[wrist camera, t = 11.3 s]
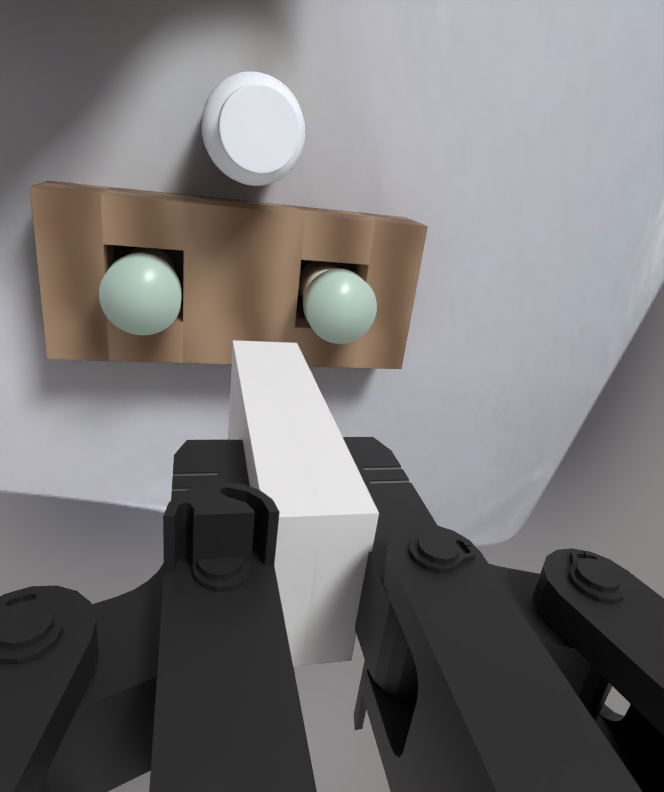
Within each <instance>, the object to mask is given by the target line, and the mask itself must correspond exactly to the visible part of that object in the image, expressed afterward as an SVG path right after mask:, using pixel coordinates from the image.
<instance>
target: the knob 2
mask: <svg viewBox="0 0 664 792" xmlns="http://www.w3.org/2000/svg"><path fill="white" fill-rule="evenodd" d="M298 290H299V293H300V295H301V297H302V298H303V310H304V314H305V317H306V319H307V320H308V322H309V324H310V326H311V327H312V329H313V330H314V332H315V333H316V334H317V335H318V336H319V337H320V338H322V339H324V340H325V341H328V342H331V343H336V344H344V343H349V342H352V341H355V340H357V339H358V338H360V337H361V336H363V335H364V334H365V333H366V332H367V331H368V330H369V328H370V327H371V325H372V324H373V322H374V319H375V316H376V312H377V302H376V297H375V294H374V292H373V290H372V289H371V287H370V286H369V285H368V284H367V283H366V282H365V281H364V280H363V279H362V278H360V277H359V276H358V275H357V274H355V273H354V272H352V271H350V270H346V269H339V268H338V267H337V266H336V265H335V264H333V263H332V262H326V261H313V262H311V263H309V264H308V265H306V266H305V267H304V268H303V270H302V271H301V273H300V278H299V288H298Z"/></svg>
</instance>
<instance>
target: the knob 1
mask: <svg viewBox="0 0 664 792" xmlns="http://www.w3.org/2000/svg"><path fill="white" fill-rule="evenodd" d="M181 295H182V291H181V284H180V281H179V278H178V276H177V274H176V273H175V266H174V263H173V261H172V260H171V258H170V257H169V256H168V255H167V254H166V253H165V252H164V251H162V250H161V249H159V248H146V247H138V248H135V249H134V250H132V251H131V252H130V253H129V254H128V255H126V256H123V257H121V258H120V259H118V260H117V261H115V262H114V263H113V264H112V265H111V266H110V268H109V269H108V271H107V272H106V274H105V275H104V277H103V279H102V281H101V284H100V288H99V300H100V304H101V307H102V310H103V312H104V313H105V315H106V317H107V318H108V319H109V320H110V321H111V322H112V323H113V324H114V325H115V326H116V327H118V328H120V329H121V330H123V331H125V332H128V333H131V334H135V335H152V334H156V333H158V332H161V331H163V330H165V329H166V328H167V327H169V326H170V325H171V324H172V323H173V322H174V320H175V319H176V317H177V315H178V313H179V310H180V306H181Z"/></svg>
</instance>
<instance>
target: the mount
mask: <svg viewBox="0 0 664 792" xmlns="http://www.w3.org/2000/svg"><path fill="white" fill-rule="evenodd" d="M30 195H31V205H32V215H33V225H34V235H35V244H36V254H37V264H38V274H39V284H40V294H41V304H42V314H43V323H44V333H45V343H46V353H47V359H62V360H98V361H133V362H169V363H204V364H232V346H233V340H235V341H261V342H286V343H297V344H298V346H299V348H300V350H301V352H302V354H303V357H304V359H305V361H306V363H307V365H308V366H311V367H347V368H382V369H402V363H403V358H404V352H405V347H406V341H407V336H408V331H409V325H410V320H411V314H412V309H413V303H414V298H415V293H416V287H417V282H418V276H419V271H420V265H421V260H422V255H423V249H424V244H425V238H426V233H427V227H428V226H426V225H423V224H421V223H418V222H416V221H413V220H411V219H408V218H406V217H396V216H386V215H377V214H367V213H357V212H347V211H338V210H328V209H318V208H308V207H298V206H289V205H279V204H269V203H259V202H249V201H240V200H230V199H220V198H210V197H200V196H191V195H181V194H171V193H161V192H152V191H142V190H132V189H122V188H112V187H103V186H93V185H83V184H73V183H63V182H54V181H46V182H43V183H40V184H37V185H34V186H31V187H30ZM113 245H120V246H133V247H146V248H159V249H172V250H184V287H183V304H181V306H180V310H179V313H178V315H177V317H176V319H175V320H174V322H173V323H172V324H171V325H170V326H169V327H167V328H166V329H165V330H163V331H161V332H158V333H156V334H152V335H135V334H131V333H128V332H125V331H123V330H121V329H120V328H118V327H116V326H115V325H114V324H113V323H112V322H111V321H110V320H109V319H108V318H107V317H106V315H105V313H104V312H103V310H102V307H101V304H100V300H99V288H100V284H101V281H102V279H103V277H104V275H105V274H106V272H107V271H108V269H109V268H110V266H111V265H112V264H113V263H114V249H113ZM301 260H313V261H326V262H339V263H351V269H350V271H352V272H354V273H355V274H357V275H358V276H359V277H360V278H362V279H363V280H364V281H365V282H366V283H367V284H368V285H369V286H370V287H371V289H372V290H373V292H374V294H375V297H376V302H377V312H376V316H375V319H374V322H373V324H372V325H371V327H370V328H369V330H368V331H367V332H366V333H365V334H364V335H363V336H361V337H360V338H358V339H357V340H355V341H352V342H349V343H344V344H336V343H331V342H328V341H325V340H324V339H322V338H320V337H319V336H318V335H317V334H316V333H315V332H314V330H313V329H312V327H311V326H310V324H309V322H308V320H307V319H306V317H305V314H304V311H300V310H296V309H297V299H298V288H299V278H300V267H301Z"/></svg>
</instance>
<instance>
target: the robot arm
mask: <svg viewBox="0 0 664 792" xmlns="http://www.w3.org/2000/svg"><path fill="white" fill-rule="evenodd" d="M163 523H164V524H163V525H164V526H163V527H164V528H163V530H164V531H163V532H164V563H163V565H162V566H161V568H160V569H159V571H158V572H157V573H156V574H155V575H154V576H153V577H152V578H151V579H150V580H148V581H147V582H145V583H144V584H142V585H141V586H139V587H138V588H136V589H134V590H132V591H130V592H127V593H125V594H122V595H120V596H117V597H114V598H111V599H108V600H105V601H102V602H98V603H95V604H91V602H90V601H88V600H87V599H86V598H85V597H84V596H82V595H81V594H80V593H79V592H78V591H75V590H71V589H67V588H64V587H60V586H32V587H28V588H24V589H21V590H17V591H14V592H10V593H7V594H4V595H2V596H0V792H108V791H110V790H112V789H114V788H116V787H118V786H119V785H122V784H124V783H126V782H128V781H130V780H132V779H134V778H136V777H138V776H140V775H142V774H144V773H146V772H148V771H150V770H151V775H150V790H149V792H317V791H316V786H315V780H314V775H313V770H312V764H311V759H310V754H309V748H308V743H307V738H306V732H305V727H304V722H303V716H302V712H301V706H300V700H299V695H298V690H297V684H296V679H295V673H294V668H293V667H297V666H306V665H314V664H323V663H333V662H342V661H350V660H351V659H352V654H353V649H354V643H355V638H356V634H357V637H358V640H359V643H360V646H361V649H362V652H363V655H364V658H365V662H364V667H363V671H362V676H361V681H360V686H359V691H358V696H357V702H356V706H355V711H354V723H355V724H354V726H355V730H358V729H362V727H363V722H364V718H365V712H366V709H367V713H368V716H369V719H370V723H371V726H372V730H373V733H374V736H375V740H376V743H377V747H378V750H379V753H380V757H381V760H382V763H383V767H384V770H385V774H386V777H387V781H388V784H389V787H390V791H391V792H664V598H662V597H661V596H660V595H658V594H657V593H656V592H655V591H653V590H652V589H651V588H649V587H648V586H647V585H645V584H644V583H643V582H641V581H640V580H639V579H638V578H636V577H635V576H634V575H632V574H631V573H630V572H629V571H627V570H626V569H624V568H622V567H621V566H619V565H618V564H616V563H614V562H613V561H611V560H609V559H607V558H605V557H602V556H600V555H597V554H595V553H592V552H589V551H583V550H577V549H562V550H556V551H554V552H553V553H551V554H549V555H548V556H547V557H546V560H545V562H544V565H543V568H542V571H541V573H540V574H538V573H532V572H526V571H521V570H515V569H510V568H504V567H499V566H495V565H491V564H488V562H487V561H486V559H485V558H484V556H483V555H482V554H481V552H480V551H479V550H478V549H477V548H476V547H475V546H474V545H473V544H472V542H471V541H470V540H468V539H466V538H465V537H463V536H461V535H460V534H458V533H456V532H455V531H452V530H449V529H446V528H443V527H440V526H437V524H436V522H435V521H434V519H433V517H432V516H431V514H430V513H429V511H428V509H427V508H426V506H425V504H424V503H423V501H422V500H421V498H420V496H419V495H418V493H417V491H416V490H415V488H414V487H413V485H412V483H409V478H408V477H407V475H406V474H405V472H404V470H403V469H401V465H400V464H399V462H398V461H397V459H396V457H395V456H394V454H393V452H392V451H391V450H390V449H389V448H387V447H386V446H385V445H383V444H382V443H380V442H379V441H378V440H376V439H375V438H374V437H342V435H341V433H340V431H339V429H338V427H337V425H336V423H335V421H334V419H333V417H332V415H331V413H330V410H329V408H328V406H327V404H326V402H325V400H324V398H323V396H322V394H321V392H320V390H319V388H318V386H317V383H316V381H315V379H314V377H313V375H312V373H311V371H310V369H309V367H308V365H307V363H306V361H305V359H304V357H303V354H302V352H301V350H300V348H299V346H298V344H297V343H286V342H261V341H235V340H233V346H232V368H231V389H230V410H229V432H228V440H187V441H186V442H185V443H184V444H183V445H182V446H181V448H180V449H179V450H178V451H177V452H176V453H175V455H174V464H173V480H172V496H171V501H170V502H169V504H168V506H167V509H166V511H165V513H164V516H163ZM612 686H613V687H614V688H615V689H616V690H617V691H618V692H619V693H620V694H622V696H623V697H624V698H625V699H626V700H627V701H628V702H629V703H630V704H631V705H630V707H629V709H628V711H627V713H626V715H625V716H622V715H620V714H617V713H615V712H613V711H612V710H611V709H610V708H608V707H607V706H606V705H605V704H604V702H605V700H606V698H607V696H608V694H609V692H610V690H611V688H612Z"/></svg>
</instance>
